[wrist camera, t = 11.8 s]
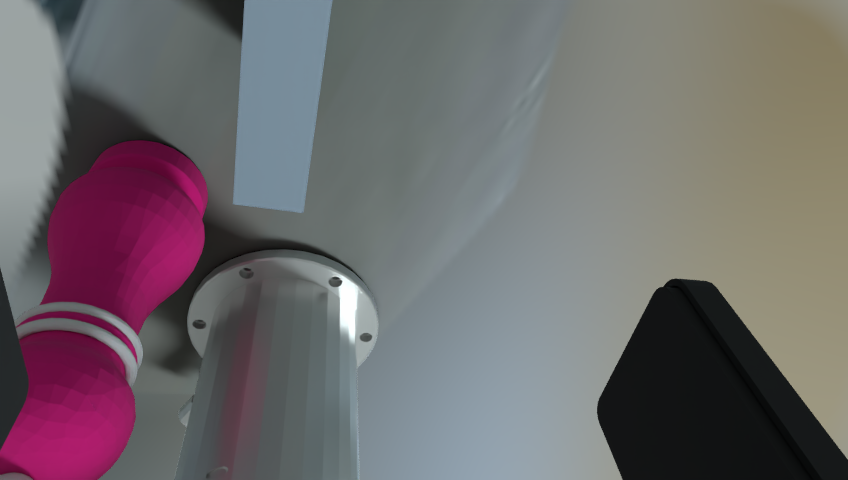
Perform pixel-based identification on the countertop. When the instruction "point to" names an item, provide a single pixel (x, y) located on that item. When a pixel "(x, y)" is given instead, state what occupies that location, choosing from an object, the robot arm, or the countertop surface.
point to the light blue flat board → (278, 100)
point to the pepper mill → (102, 307)
